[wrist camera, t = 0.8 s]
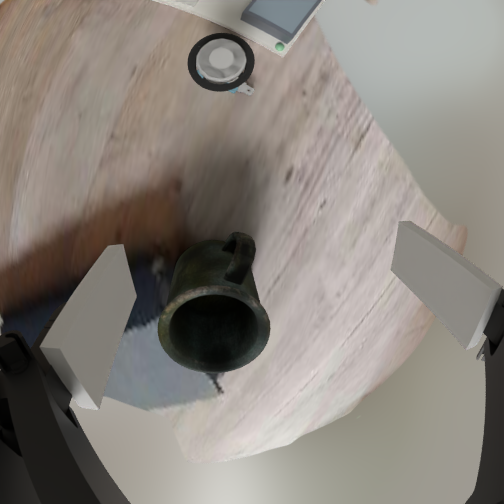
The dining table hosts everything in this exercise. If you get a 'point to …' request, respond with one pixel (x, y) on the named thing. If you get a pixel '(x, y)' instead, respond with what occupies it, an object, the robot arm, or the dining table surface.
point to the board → (235, 20)
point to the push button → (222, 63)
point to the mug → (214, 307)
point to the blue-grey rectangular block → (279, 16)
